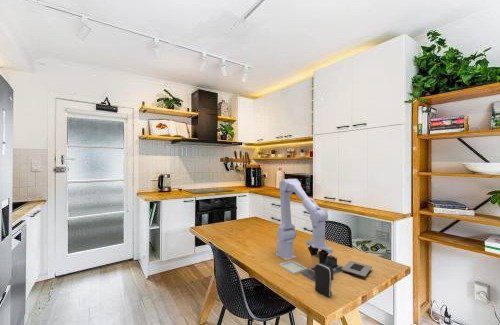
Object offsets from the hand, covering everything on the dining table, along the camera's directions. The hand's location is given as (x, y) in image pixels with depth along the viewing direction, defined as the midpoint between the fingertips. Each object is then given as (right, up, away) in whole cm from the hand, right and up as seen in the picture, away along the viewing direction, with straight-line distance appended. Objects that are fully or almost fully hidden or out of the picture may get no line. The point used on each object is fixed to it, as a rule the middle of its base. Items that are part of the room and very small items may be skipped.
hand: (318, 263), depth 111 cm
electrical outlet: (+20, -6, +3) cm, 21 cm away
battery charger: (-2, -5, -15) cm, 17 cm away
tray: (-11, -5, +6) cm, 14 cm away
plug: (0, -1, 0) cm, 1 cm away
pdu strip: (+3, -5, +2) cm, 6 cm away
